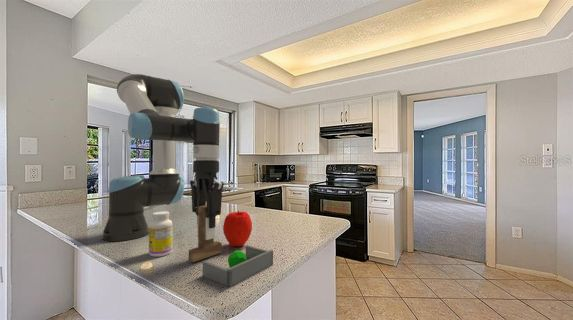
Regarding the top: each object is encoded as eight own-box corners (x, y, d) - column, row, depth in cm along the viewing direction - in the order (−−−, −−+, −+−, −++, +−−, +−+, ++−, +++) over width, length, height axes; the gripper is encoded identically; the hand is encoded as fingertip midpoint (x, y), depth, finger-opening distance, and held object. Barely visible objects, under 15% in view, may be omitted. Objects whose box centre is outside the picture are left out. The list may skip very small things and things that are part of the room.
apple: (236, 253, 80) (236, 214, 80) (216, 246, 86) (216, 210, 86) (257, 244, 88) (258, 209, 88) (238, 239, 94) (238, 206, 94)
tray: (202, 275, 64) (202, 259, 64) (247, 256, 77) (247, 243, 77) (229, 287, 58) (229, 269, 58) (272, 264, 71) (273, 250, 71)
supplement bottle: (150, 251, 81) (150, 211, 81) (172, 248, 83) (173, 210, 84) (147, 258, 75) (147, 215, 75) (171, 255, 77) (172, 213, 77)
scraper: (187, 260, 72) (188, 208, 73) (215, 250, 81) (216, 203, 81) (194, 262, 71) (194, 209, 71) (222, 252, 79) (222, 204, 79)
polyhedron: (226, 267, 69) (226, 249, 69) (243, 264, 71) (244, 247, 71) (230, 274, 64) (230, 255, 65) (248, 271, 66) (248, 253, 67)
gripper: (179, 159, 78) (179, 235, 77) (213, 159, 68) (213, 246, 68) (200, 160, 84) (200, 230, 83) (234, 159, 74) (233, 239, 74)
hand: (205, 237), depth 76 cm, fingers closed on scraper, 3 cm apart
